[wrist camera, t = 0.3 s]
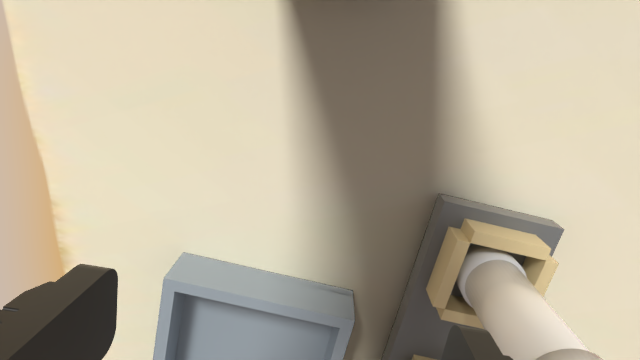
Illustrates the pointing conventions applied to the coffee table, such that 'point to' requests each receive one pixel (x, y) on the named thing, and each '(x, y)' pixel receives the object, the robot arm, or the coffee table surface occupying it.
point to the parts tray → (249, 314)
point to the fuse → (515, 309)
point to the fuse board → (444, 265)
